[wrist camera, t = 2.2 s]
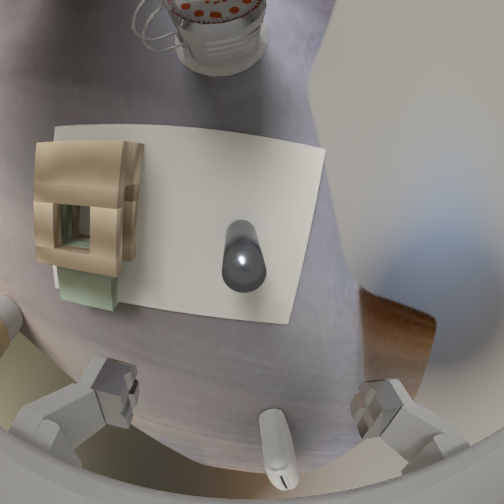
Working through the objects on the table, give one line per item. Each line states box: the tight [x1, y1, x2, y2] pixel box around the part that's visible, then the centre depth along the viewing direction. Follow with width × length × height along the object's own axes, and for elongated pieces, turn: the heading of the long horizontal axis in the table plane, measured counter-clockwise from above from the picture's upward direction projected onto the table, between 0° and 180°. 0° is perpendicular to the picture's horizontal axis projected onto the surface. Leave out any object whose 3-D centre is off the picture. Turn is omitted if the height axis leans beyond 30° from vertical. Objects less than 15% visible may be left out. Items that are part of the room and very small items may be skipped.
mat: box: [53, 124, 325, 324], centre depth 28 cm, size 20×30×1 cm, turn 81°
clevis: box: [33, 140, 144, 311], centre depth 24 cm, size 17×10×6 cm, turn 171°
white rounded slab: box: [259, 409, 299, 491], centre depth 33 cm, size 10×4×12 cm, turn 14°
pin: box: [222, 220, 266, 293], centre depth 23 cm, size 3×3×10 cm
